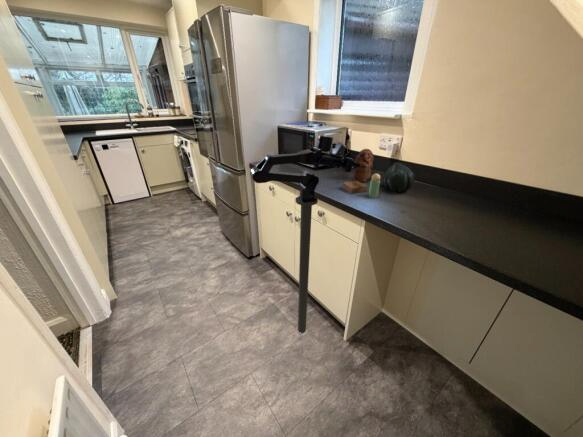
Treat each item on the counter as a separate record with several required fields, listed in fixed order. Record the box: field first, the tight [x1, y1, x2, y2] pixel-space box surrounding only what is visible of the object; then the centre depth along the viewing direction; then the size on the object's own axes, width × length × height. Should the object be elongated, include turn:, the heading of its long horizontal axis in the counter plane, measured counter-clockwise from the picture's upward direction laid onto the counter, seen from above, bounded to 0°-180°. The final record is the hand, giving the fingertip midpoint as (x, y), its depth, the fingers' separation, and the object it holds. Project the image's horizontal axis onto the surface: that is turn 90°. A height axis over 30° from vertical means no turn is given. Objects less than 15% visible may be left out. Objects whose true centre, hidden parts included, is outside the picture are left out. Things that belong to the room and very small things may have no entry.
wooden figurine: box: [353, 148, 375, 183], centre depth 134 cm, size 12×6×18 cm, turn 128°
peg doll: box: [367, 173, 381, 199], centre depth 114 cm, size 4×4×12 cm
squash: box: [382, 162, 415, 193], centre depth 122 cm, size 14×15×15 cm
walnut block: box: [341, 180, 368, 195], centre depth 123 cm, size 9×9×3 cm
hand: (354, 162), depth 117 cm, fingers open, 9 cm apart
